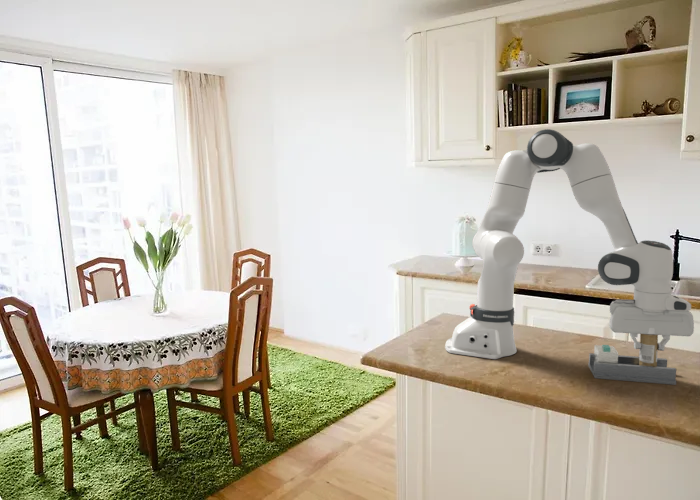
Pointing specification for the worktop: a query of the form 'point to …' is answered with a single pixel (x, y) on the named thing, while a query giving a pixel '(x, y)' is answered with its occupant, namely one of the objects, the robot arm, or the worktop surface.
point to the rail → (628, 367)
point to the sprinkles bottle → (648, 348)
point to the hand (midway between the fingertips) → (648, 349)
